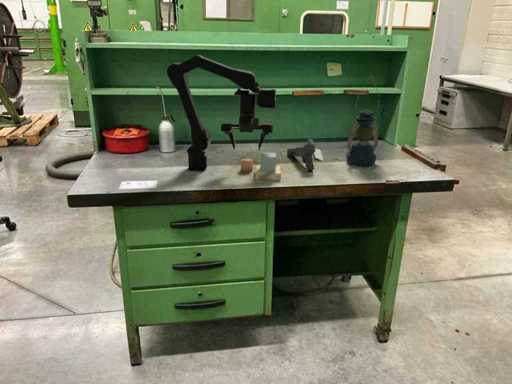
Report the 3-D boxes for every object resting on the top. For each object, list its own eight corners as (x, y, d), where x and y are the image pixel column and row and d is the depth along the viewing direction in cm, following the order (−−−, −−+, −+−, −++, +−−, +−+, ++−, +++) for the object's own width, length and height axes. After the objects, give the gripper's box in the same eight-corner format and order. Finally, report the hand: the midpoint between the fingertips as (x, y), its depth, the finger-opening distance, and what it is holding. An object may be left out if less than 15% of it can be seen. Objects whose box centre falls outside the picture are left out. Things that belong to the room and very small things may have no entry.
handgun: (307, 171, 158) (305, 145, 157) (286, 169, 182) (284, 146, 180) (316, 171, 159) (315, 144, 158) (294, 169, 183) (293, 145, 181)
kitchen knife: (328, 159, 173) (316, 156, 173) (326, 165, 174) (314, 161, 174) (317, 140, 200) (307, 137, 200) (315, 145, 201) (305, 142, 201)
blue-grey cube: (260, 171, 151) (260, 156, 149) (260, 166, 156) (260, 152, 154) (275, 171, 151) (276, 157, 149) (275, 167, 156) (275, 152, 154)
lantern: (354, 168, 164) (364, 76, 152) (337, 160, 175) (345, 73, 162) (384, 165, 169) (396, 75, 157) (366, 157, 180) (376, 72, 167)
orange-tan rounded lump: (240, 171, 159) (239, 161, 157) (242, 168, 163) (242, 158, 161) (251, 172, 158) (251, 162, 157) (253, 168, 162) (253, 158, 161)
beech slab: (255, 179, 151) (255, 173, 150) (255, 171, 159) (256, 165, 158) (280, 180, 151) (280, 173, 150) (279, 172, 159) (280, 165, 158)
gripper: (219, 111, 144) (219, 155, 150) (273, 112, 144) (272, 156, 150) (222, 105, 155) (222, 146, 161) (273, 106, 155) (271, 148, 160)
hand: (246, 149), depth 158 cm, fingers open, 9 cm apart
